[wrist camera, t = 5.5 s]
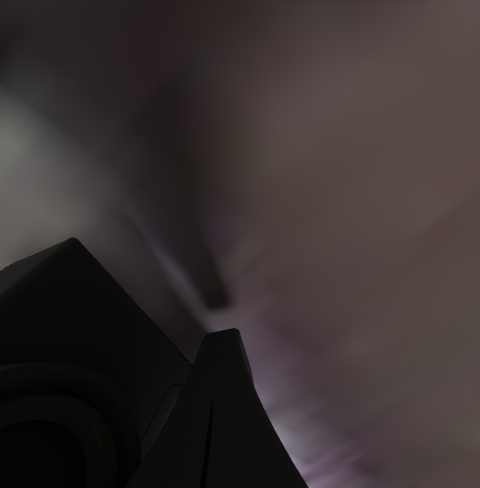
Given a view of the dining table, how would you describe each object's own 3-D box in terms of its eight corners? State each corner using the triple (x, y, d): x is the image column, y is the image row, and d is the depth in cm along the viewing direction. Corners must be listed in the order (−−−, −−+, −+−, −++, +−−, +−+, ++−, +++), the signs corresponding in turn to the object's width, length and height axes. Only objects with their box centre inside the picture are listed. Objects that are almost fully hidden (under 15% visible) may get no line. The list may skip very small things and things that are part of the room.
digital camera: (295, 449, 11) (225, 825, 6) (187, 432, 14) (81, 678, 9) (105, 220, 7) (-615, 829, 2) (7, 263, 10) (-380, 551, 5)
